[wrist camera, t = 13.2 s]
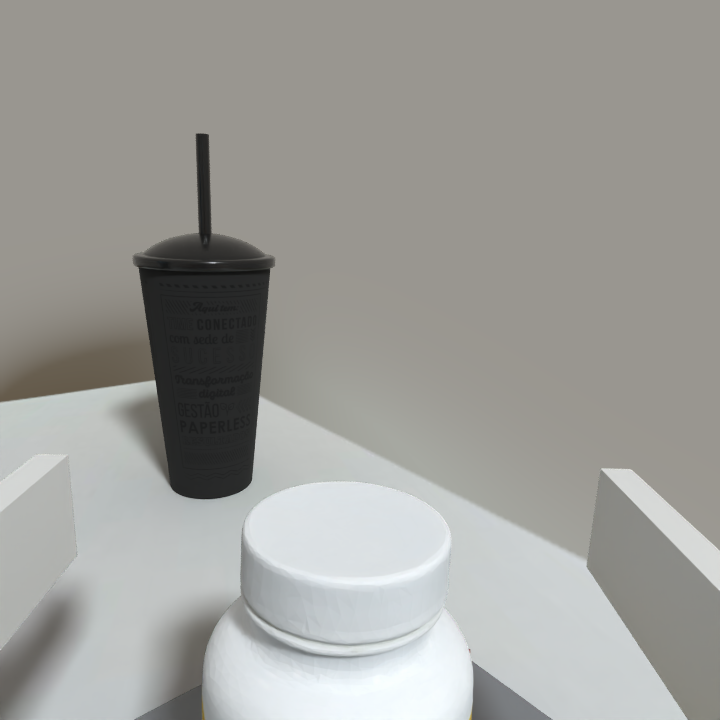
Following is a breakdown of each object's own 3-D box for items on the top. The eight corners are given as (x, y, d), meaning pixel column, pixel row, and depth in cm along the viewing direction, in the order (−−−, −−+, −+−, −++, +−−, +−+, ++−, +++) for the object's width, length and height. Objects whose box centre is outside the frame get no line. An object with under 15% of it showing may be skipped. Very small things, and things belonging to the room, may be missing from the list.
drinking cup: (226, 523, 31) (216, 121, 26) (117, 493, 34) (90, 125, 29) (298, 469, 38) (300, 141, 33) (201, 448, 41) (191, 143, 36)
